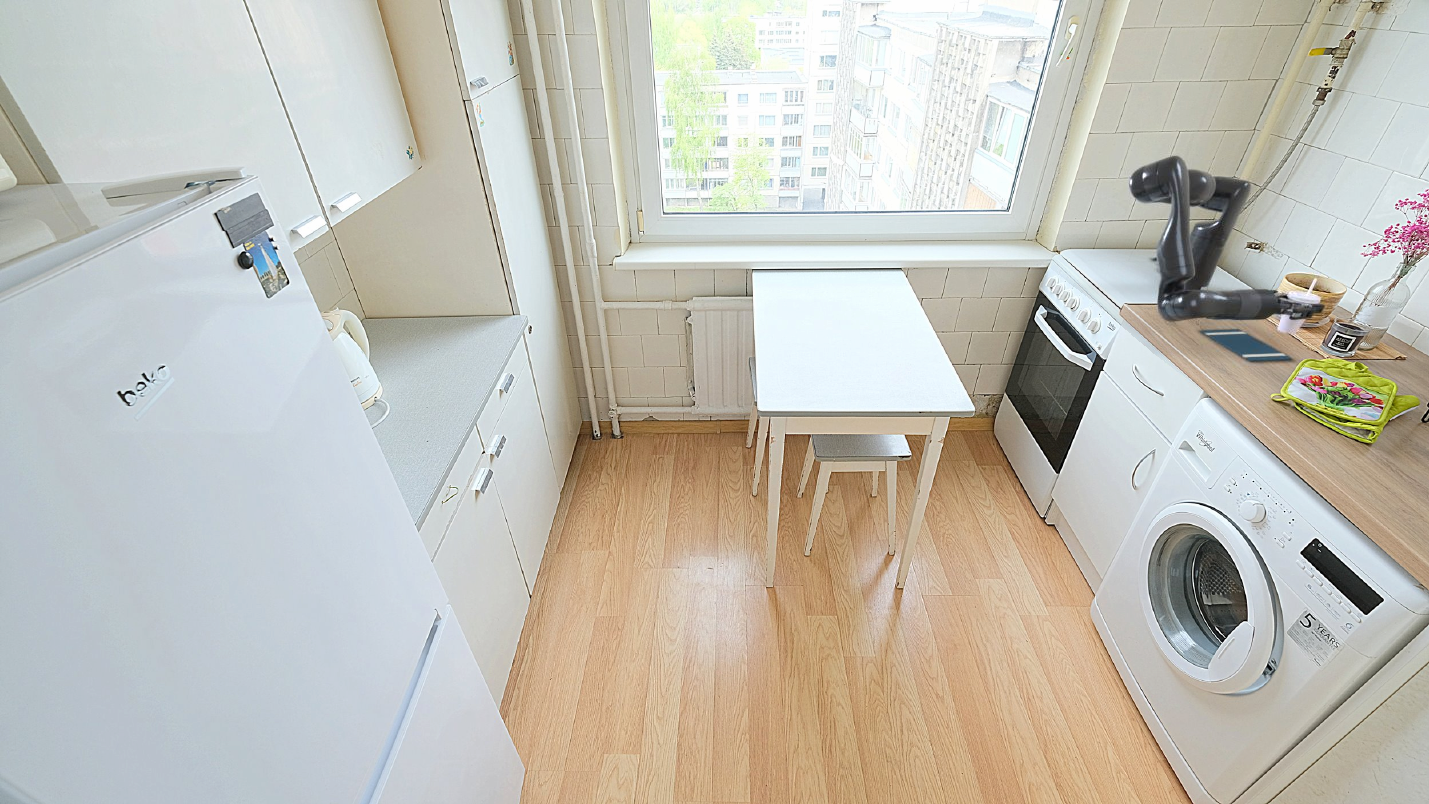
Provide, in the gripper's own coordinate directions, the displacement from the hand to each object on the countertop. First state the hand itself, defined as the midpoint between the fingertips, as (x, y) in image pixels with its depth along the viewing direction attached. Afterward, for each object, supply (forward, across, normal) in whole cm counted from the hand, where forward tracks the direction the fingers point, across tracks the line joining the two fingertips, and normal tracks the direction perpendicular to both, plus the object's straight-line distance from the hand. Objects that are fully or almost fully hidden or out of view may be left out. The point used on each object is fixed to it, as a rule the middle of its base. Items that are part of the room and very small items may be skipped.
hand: (1310, 303), depth 158 cm
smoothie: (-2, 0, +8) cm, 8 cm away
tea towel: (-12, 0, +11) cm, 17 cm away
